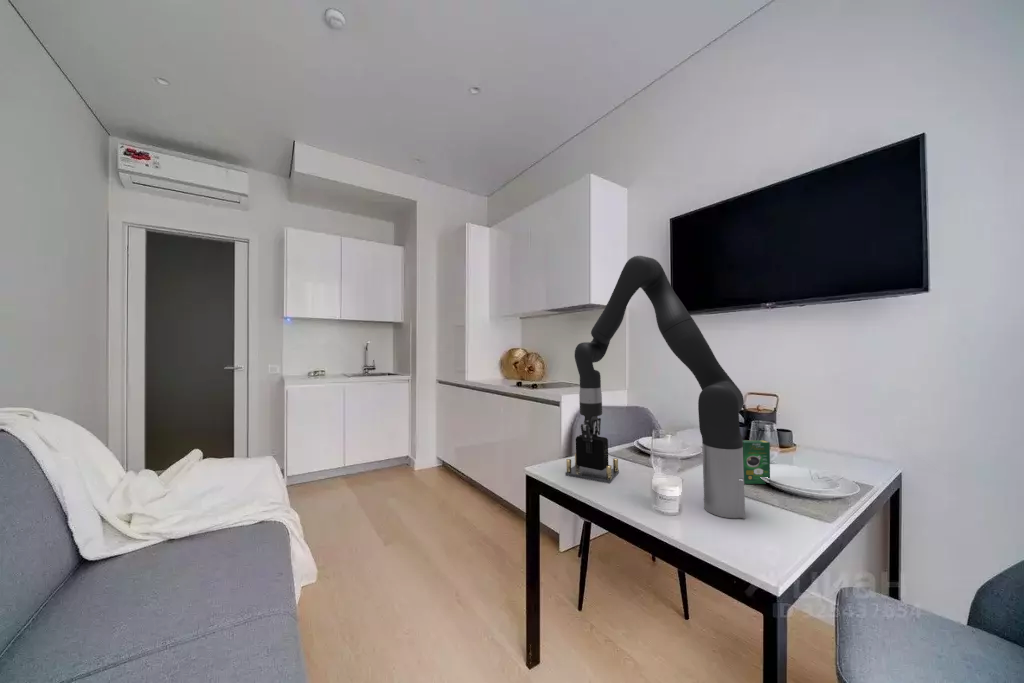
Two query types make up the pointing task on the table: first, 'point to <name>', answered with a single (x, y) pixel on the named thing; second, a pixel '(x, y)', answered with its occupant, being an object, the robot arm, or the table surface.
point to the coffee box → (756, 461)
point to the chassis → (592, 472)
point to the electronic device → (594, 459)
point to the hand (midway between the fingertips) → (591, 450)
